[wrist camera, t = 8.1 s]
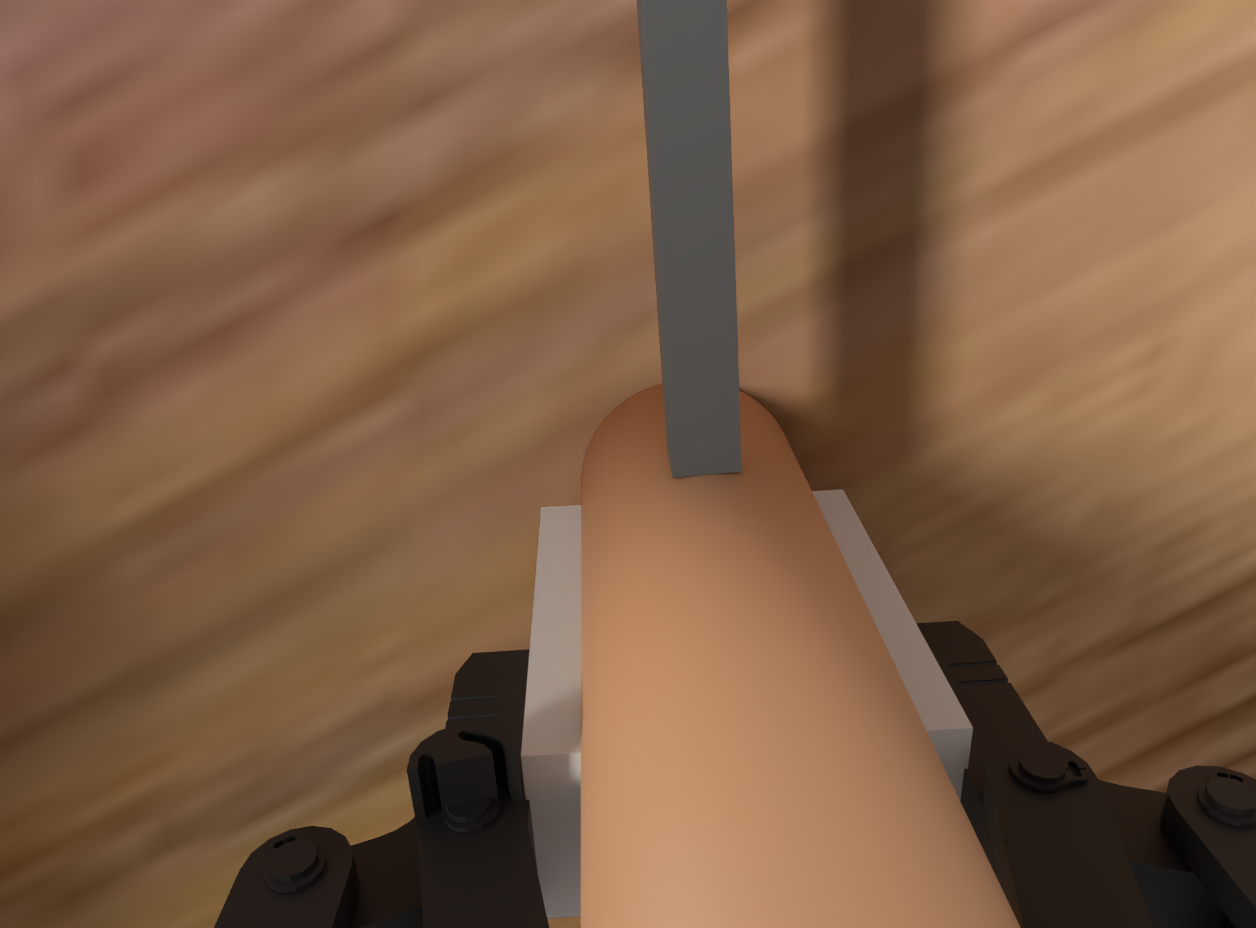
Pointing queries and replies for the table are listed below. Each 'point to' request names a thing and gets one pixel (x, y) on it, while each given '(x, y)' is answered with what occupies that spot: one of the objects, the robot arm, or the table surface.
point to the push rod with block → (737, 616)
